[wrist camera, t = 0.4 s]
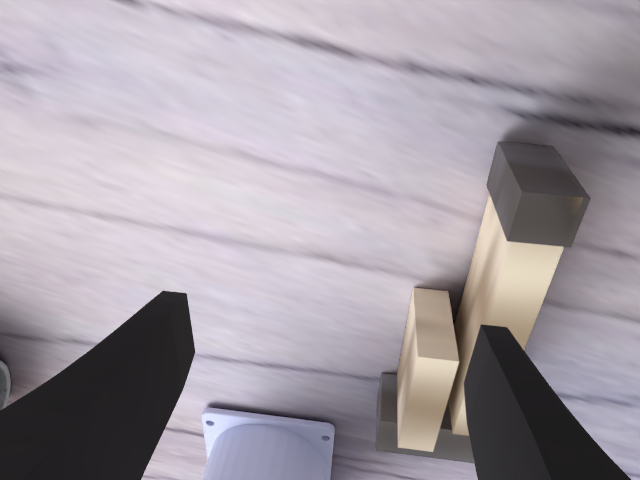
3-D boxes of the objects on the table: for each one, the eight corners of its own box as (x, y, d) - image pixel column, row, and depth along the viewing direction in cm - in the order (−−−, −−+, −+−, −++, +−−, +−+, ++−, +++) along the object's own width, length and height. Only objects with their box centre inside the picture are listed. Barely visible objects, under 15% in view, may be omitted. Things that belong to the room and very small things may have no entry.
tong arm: (480, 368, 25) (494, 439, 21) (440, 364, 25) (447, 433, 21) (553, 146, 18) (590, 198, 15) (497, 141, 18) (521, 192, 15)
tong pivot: (478, 414, 27) (491, 490, 23) (376, 401, 27) (375, 474, 24) (518, 298, 22) (543, 371, 19) (395, 285, 23) (397, 354, 19)
